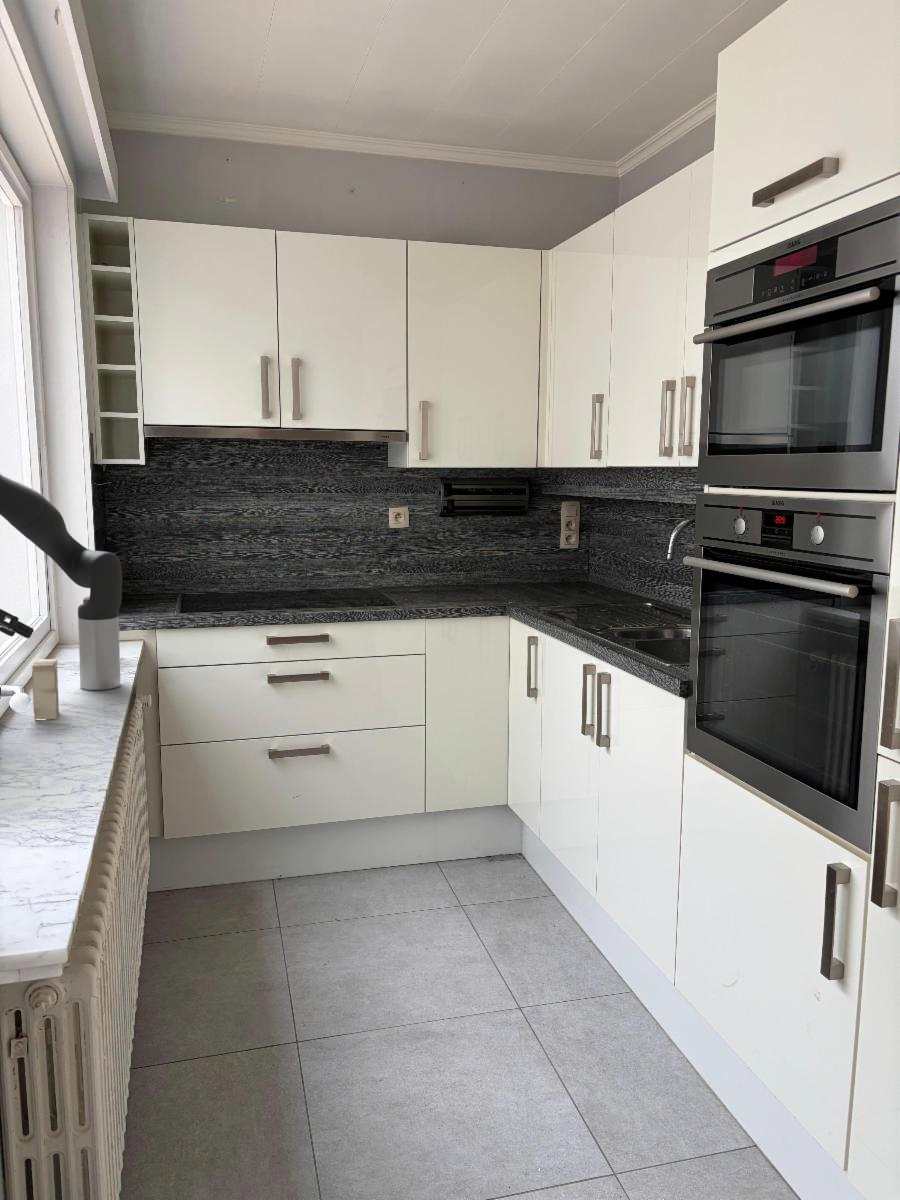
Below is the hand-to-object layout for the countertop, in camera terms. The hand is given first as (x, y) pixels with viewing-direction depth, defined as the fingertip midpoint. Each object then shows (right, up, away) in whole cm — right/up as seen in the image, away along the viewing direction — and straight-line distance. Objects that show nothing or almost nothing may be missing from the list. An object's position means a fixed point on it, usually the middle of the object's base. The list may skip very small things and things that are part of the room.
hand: (22, 633), depth 188 cm
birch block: (0, -18, +10) cm, 21 cm away
